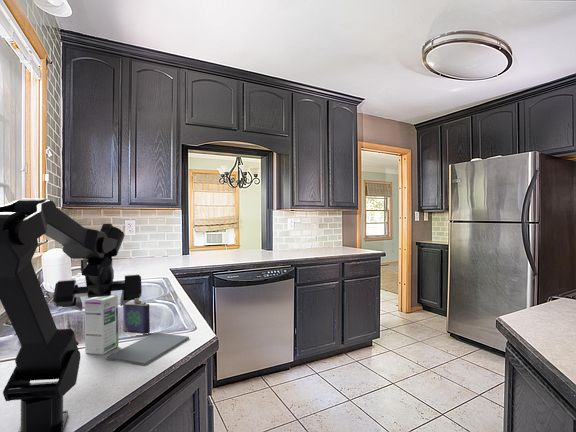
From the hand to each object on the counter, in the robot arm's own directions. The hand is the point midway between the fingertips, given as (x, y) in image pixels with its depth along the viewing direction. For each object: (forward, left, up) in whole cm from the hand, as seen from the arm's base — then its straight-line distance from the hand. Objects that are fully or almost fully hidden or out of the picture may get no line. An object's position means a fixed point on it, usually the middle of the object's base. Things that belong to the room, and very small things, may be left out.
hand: (101, 306), depth 85 cm
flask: (+13, -9, -12) cm, 20 cm away
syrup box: (+2, 0, -12) cm, 12 cm away
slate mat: (-3, -12, -12) cm, 17 cm away
